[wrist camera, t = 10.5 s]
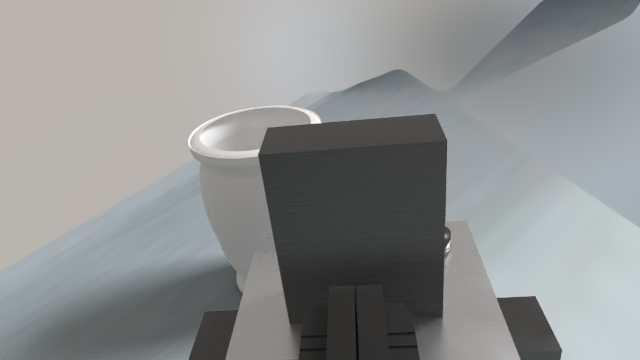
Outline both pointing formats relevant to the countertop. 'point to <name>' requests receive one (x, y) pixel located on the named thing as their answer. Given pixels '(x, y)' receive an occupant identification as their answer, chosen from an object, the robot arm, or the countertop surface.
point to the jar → (239, 176)
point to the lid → (365, 240)
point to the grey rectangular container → (519, 312)
